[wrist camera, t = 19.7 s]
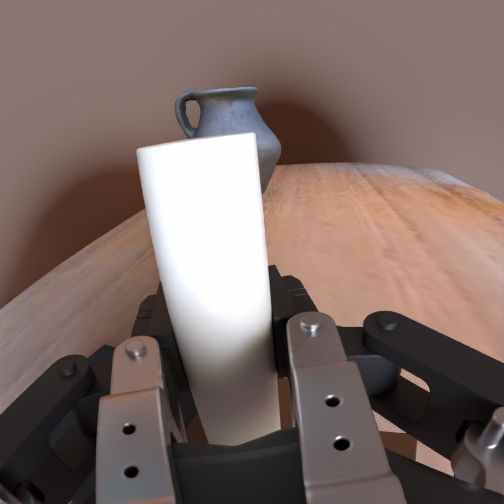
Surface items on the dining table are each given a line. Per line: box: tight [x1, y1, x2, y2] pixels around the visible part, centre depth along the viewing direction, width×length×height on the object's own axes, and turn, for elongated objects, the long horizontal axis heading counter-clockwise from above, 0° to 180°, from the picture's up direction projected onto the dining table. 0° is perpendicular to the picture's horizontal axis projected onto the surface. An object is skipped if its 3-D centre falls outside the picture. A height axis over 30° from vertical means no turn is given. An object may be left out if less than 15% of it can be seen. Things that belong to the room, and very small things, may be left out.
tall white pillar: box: [136, 132, 293, 446], centre depth 10 cm, size 8×5×14 cm, turn 157°
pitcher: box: [175, 87, 281, 194], centre depth 67 cm, size 21×22×25 cm
